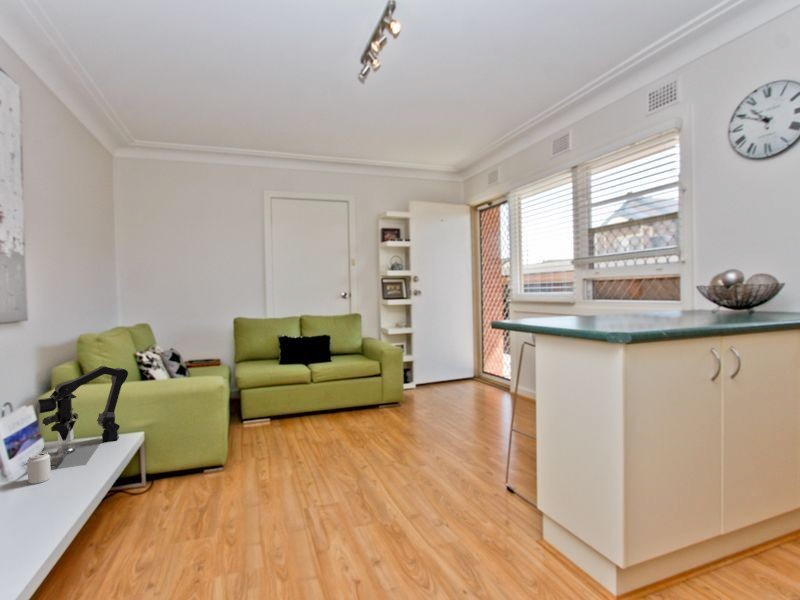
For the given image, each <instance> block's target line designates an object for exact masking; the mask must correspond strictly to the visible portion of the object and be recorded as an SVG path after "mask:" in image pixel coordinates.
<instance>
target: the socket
mask: <svg viewBox="0 0 800 600" xmlns="http://www.w3.org/2000/svg"><path fill="white" fill-rule="evenodd" d="M74 438H75V436H74V427H73V428H72V429H70V430H69V433H68V435H67V438H66V440H65V441H63V440H62V438H61V435H60V433H59V432H58V431H57V443H58V444H63V443H67V442H70V443H71V442H72V440H73V439H74Z"/></svg>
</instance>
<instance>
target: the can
mask: <svg viewBox="0 0 800 600" xmlns="http://www.w3.org/2000/svg"><path fill="white" fill-rule="evenodd" d="M50 458H51V455H50V454H49V452H48V451H39V452H36V453H32V454H30V455H29V456H28V459H27V460H26V463H27V480H28V484H31V485H34V484H35V485H37V484H42V483H44V482H46V481H48V480H50V479H51V477H52V472H51V471H52V470H51V467H50Z"/></svg>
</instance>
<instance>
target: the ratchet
mask: <svg viewBox="0 0 800 600" xmlns="http://www.w3.org/2000/svg"><path fill="white" fill-rule="evenodd" d="M70 443H71V442H63V443H61V444H62V447H59V448H57V449H56V451H57V454H58V455H57V456H56V457H55V458H52V460H51V461H50V467H51V471H52V470H54V469H55V470H58V469H57V468H58V466H59V465H60V464H61V463H62V462H63V460H64V458H65V457H66V456H67V455H68V454H70V453H73V452H74V451H75V446H76V445H71V444H70Z"/></svg>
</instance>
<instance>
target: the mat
mask: <svg viewBox="0 0 800 600" xmlns="http://www.w3.org/2000/svg"><path fill="white" fill-rule="evenodd" d="M101 444H102V443H101V442H98V443H92V444H91V443H90V444H84V445H83V444H82V445H74V446H75V451H74V452H73V453H70V454H68V455H67V456H66V457H65V458H64V460H63V462H62V463H61V464H60V465H59V466H58V468H57V469H54V470H59V469H60V470H61V469H68V468H73V467H75V468H76V467H80V466H86V465H87V464H88V462H89V461H90V460H91V458H92V457H93V455H94V453H96V451H97V449H98V448H99V446H100V445H101ZM57 455H58V454H57V450H56V451H55V452H54V453H53V454H52V455H51V456H50V461H51V460H52V458H55V457H56V456H57Z"/></svg>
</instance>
